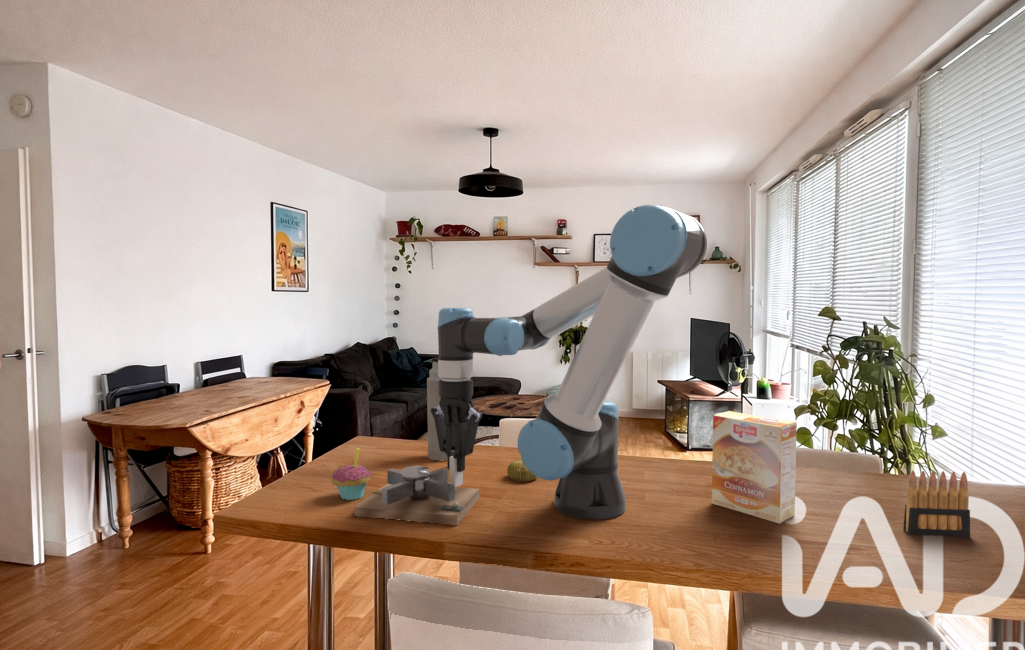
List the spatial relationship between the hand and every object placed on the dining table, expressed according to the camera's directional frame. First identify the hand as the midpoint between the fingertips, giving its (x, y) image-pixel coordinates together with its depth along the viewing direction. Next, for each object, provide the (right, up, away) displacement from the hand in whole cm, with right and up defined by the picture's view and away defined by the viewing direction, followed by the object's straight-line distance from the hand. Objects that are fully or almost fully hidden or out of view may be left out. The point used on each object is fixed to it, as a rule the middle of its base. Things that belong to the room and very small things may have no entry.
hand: (456, 485), depth 127 cm
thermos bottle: (-7, -2, +35) cm, 36 cm away
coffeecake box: (+63, -4, -6) cm, 63 cm away
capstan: (-7, -1, -3) cm, 8 cm away
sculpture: (+15, -3, +16) cm, 22 cm away
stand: (-7, -4, -3) cm, 9 cm away
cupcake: (-24, -4, +3) cm, 24 cm away
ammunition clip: (+92, -4, -18) cm, 94 cm away
